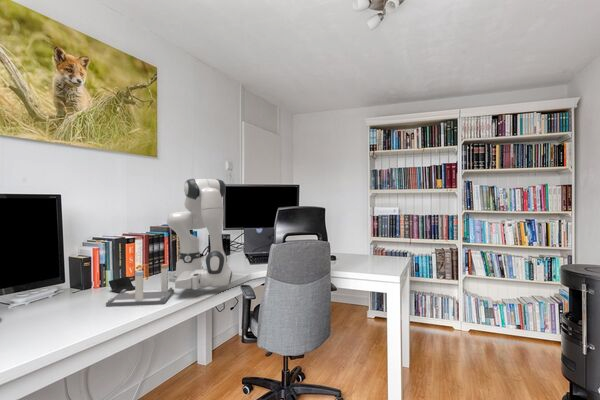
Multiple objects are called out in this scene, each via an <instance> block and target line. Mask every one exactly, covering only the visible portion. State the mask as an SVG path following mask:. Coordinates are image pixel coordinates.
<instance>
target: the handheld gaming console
mask: <svg viewBox="0 0 600 400" xmlns="http://www.w3.org/2000/svg"><path fill="white" fill-rule="evenodd" d="M108 285H109V287H110V289H111V291H112V292H111V293H114V294H117V295H118V294H119V293H121V291H122V290H123V289H126V291H135V285H133V283H132V280H131V278H130V276H124V277H121V278H116V279H112V280H108Z"/></svg>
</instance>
